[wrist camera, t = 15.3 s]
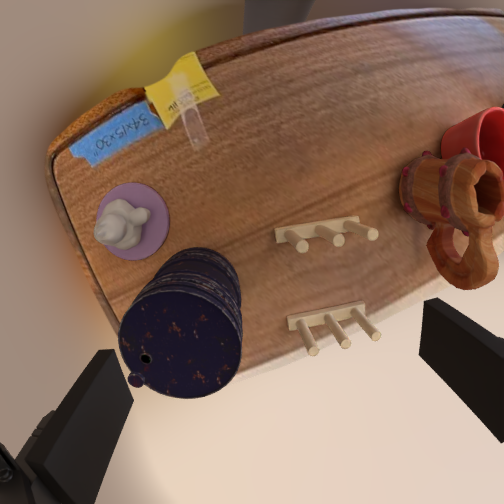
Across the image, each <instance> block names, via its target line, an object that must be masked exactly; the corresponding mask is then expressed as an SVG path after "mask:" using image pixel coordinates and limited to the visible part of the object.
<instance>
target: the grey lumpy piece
mask: <svg viewBox="0 0 504 504" xmlns="http://www.w3.org/2000/svg"><path fill="white" fill-rule="evenodd" d="M150 215H151V214H150V211H149V210H148V209H146V208H142V207H139V208H137V209H135V208H134V207H133V206H132V205H131V204H129V203H128V202H127V201H125V200H123V199H116V200H114V201H112V202H110V203H108V204H107V205H106V207H105V208H104V210H103V213H102V216H101V217H100V218H99V219H98V220H97V222H96V225H95V228H94V237H95V239H96V240H97V241H98V242H100V243H102V244H105V245H110V246H115V247H116V248H118V249H122V250H127V249H130V248H132V247H134V246H136V245H137V244H138V243H139V242H140V239H141V232H142V224H144V223H146V222H147V221H148V220H149V218H150Z"/></svg>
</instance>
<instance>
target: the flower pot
mask: <svg viewBox="0 0 504 504" xmlns="http://www.w3.org/2000/svg"><path fill="white" fill-rule="evenodd" d="M463 148H468V150H469V151H470V153H471V154H473V155H475V156H477V157H478V158H480V159H481V160H489V161H492V162H494V163H495V164H496V165H498V166H499V168H500V169H501V170H502V172H503V178H502V179H503V180H504V109H503V108H499V107H491V108H488V109H485V110H483V111H481V112H479V113H477V114H475V115H473V116H471V117H469V118H468V119H466V120H464V121H462V122H460V123H458V124H457V125H455V126H453V127H451V128H449V129H448V130H447V131H446V132H445V134H444V136H443V138H442V142H441V155H442V159H450V158H451V157H453V156H455V155H458V154H459V153H460V152H461V150H462V149H463Z"/></svg>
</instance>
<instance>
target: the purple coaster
mask: <svg viewBox="0 0 504 504" xmlns="http://www.w3.org/2000/svg"><path fill="white" fill-rule="evenodd" d="M116 199H123V200H125V201H127V202H128V203H129V204H131V205H132V206H133V207H134V208H135V209H137V208H139V207H142V208H146V209H148V210H149V211H150V214H151V215H150V218H149V220H148V221H147V222H146V223H144V224H142V232H141V239H140V242H139V243H138V244H137V245H136V246H134V247H132V248H130V249H127V250H122V249H118V248H116V247H115V246H110V245H105V244H104V245H105V247H106V248H107V249H108V250H109V251H110V252H111V253H113V254H114V255H116V256H118V257H120V258H122V259H125V260H141V259H144V258H147V257H149V256H150V255H152V254H153V253H155V252H156V251H157V250H158V249H159V248H160V247H161V246H162V244H163V243H164V241H165V239H166V237H167V235H168V231H169V225H170V218H169V212H168V208H167V206H166V203H165V202H164V200H163V198H162V197H161V196H160V195H159V194H158V192H156V191H155V190H154V189H153V188H151V187H149V186H147V185H145V184H141V183H125V184H121V185H118V186H116V187H115V188H113V189H112V190H110V191H109V192H108V193H107V194H106V195H105V197H104V198H103V200H102V201H101V203H100V205H99V208H98V212H97V220H98V219H99V218H100V217H101V216H102V213H103V210H104V208H105V207H106V205H107V204H108V203H110V202H112V201H114V200H116Z"/></svg>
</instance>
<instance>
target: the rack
mask: <svg viewBox="0 0 504 504" xmlns="http://www.w3.org/2000/svg"><path fill="white" fill-rule="evenodd" d="M349 231H350V232H353V233H355V234H357V235H360V236H362V237H364V238H366V239H368V240H371V241H374V240H376V239H377V237H378V231H377V230H376V229H374V228H372V227H369V226H366V225H363V224H360V222H359V216H356V215H353V216H347V217H340V218H334V219H327V220H321V221H315V222H308V223H302V224H296V225H290V226H284V227H278V228H274V232H275V239H276V242H277V243H283V242H290V244H291V245H292V246H293V247H294V248H295V249H296V250H297V251H298V252H299V253H305V252H306V251H307V250H308V248H309V244H308V242H307V241H305V240H304V239H307V238H313V237H319V236H321V237H322V238H324V239H325V240H327V241H329V242H330V243H332V244H333V245H335V246H337V247H340V246H342V245H343V244H344V242H345V238H344V236H343V235H342V234H340V233H343V232H349ZM349 318H354V319H355V320H356V321H357V323H358V324H359V325H360V326H361V327H362V329H363V330H364V331H365V332H366V333H367V334H368V336H369V337H370V338H371V339H372V340H373V341H378V340H379V339H380V338H381V333H380V332H379V330H378V329H377V328H376V327H375V326H374V325H373V324H372V323H371V322H370V321H369V320H368V319H367V317H366V316H365V303H364V302H363V301H362V300H361V301H356V302H352V303H347V304H343V305H338V306H333V307H329V308H324V309H319V310H314V311H309V312H304V313H299V314H294V315H288V316H287V323H288V328H289V331H292V330H297V329H298V330H299V333H300V335H301V337H302V340H303V342H304V345H305V347H306V349H307V352H308V354H309V355H310V356H316V355H317V354H318V353H319V348H318V346H317V344H316V342H315V340H314V338H313V336H312V334H311V332H310V330H309V328H308V327H312V326H317V325H321V324H327V325H328V327H329V329H330V330H331V332H332V333H333V335H334V336H335V338H336V340H337V341H338V343H339V344H340V346H341V348H343V349H347V348H349V347H350V346H351V340H350V339H349V337H348V336H347V335H346V333H345V332H344V330H343V329H342V328H341V326H340V325H339V323H338V322H337V321H340V320H344V319H349Z"/></svg>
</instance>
